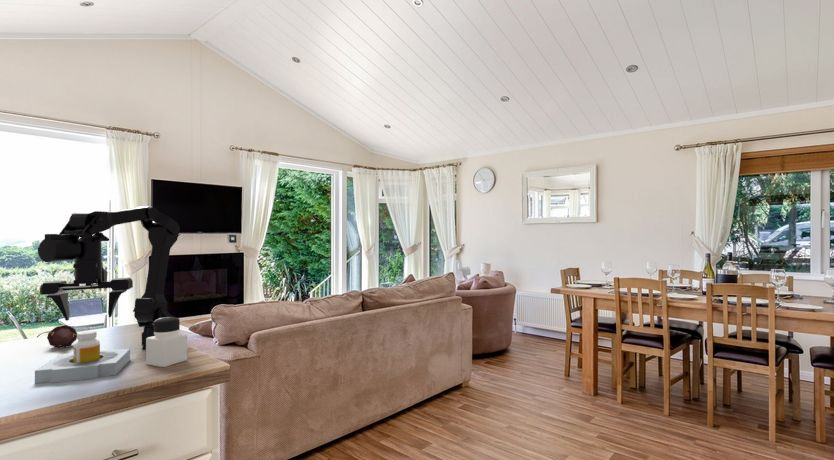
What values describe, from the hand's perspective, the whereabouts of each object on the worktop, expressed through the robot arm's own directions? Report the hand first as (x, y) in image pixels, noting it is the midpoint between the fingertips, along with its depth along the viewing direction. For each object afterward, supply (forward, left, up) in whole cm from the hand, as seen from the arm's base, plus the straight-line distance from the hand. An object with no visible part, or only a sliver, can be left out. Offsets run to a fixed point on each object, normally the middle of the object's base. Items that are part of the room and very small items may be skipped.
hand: (89, 318), depth 113 cm
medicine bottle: (-18, +3, -13) cm, 23 cm away
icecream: (+15, -29, -13) cm, 35 cm away
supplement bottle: (0, +3, -13) cm, 13 cm away
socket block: (0, +3, -13) cm, 13 cm away
